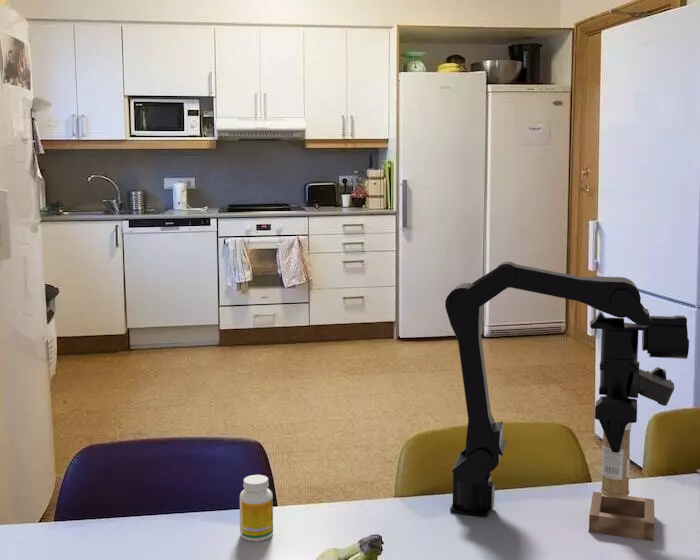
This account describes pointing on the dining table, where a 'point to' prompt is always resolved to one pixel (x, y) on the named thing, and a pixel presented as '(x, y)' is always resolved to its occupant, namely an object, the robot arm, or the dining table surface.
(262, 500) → the supplement bottle
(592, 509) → the walnut socket
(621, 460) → the sprinkles bottle
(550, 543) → the dining table surface
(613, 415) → the robot arm
